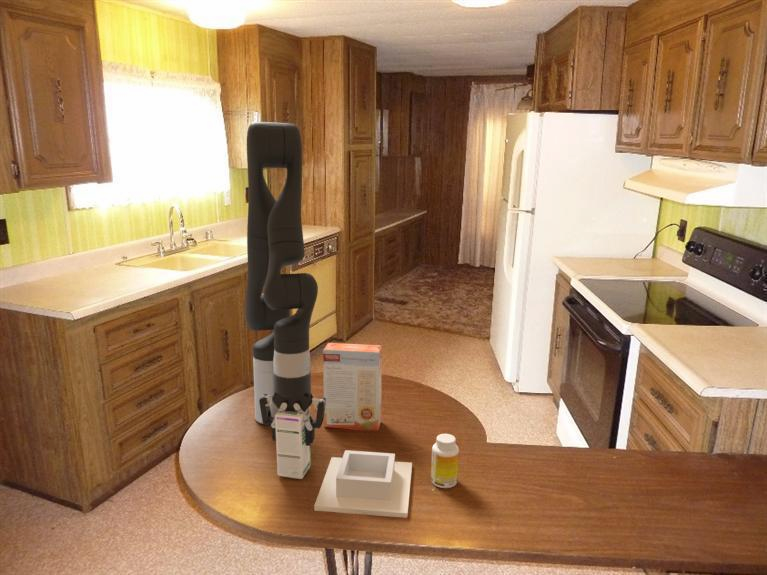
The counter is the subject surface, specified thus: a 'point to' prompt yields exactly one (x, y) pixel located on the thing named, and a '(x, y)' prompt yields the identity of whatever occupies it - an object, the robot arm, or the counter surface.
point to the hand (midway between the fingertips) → (293, 442)
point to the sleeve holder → (366, 485)
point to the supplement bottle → (444, 461)
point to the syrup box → (292, 445)
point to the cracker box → (352, 386)
